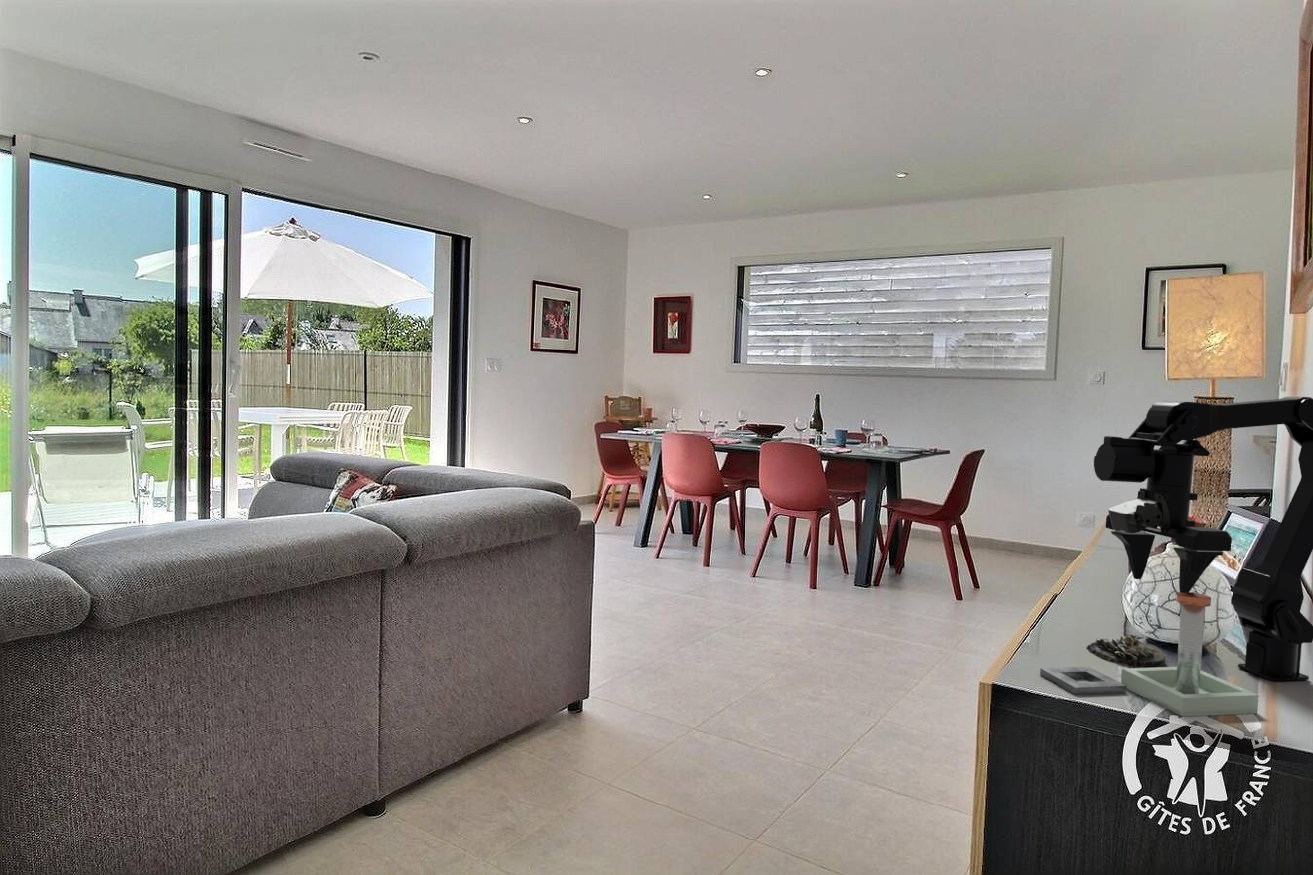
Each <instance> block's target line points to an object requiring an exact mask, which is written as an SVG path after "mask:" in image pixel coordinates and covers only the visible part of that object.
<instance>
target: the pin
mask: <svg viewBox="0 0 1313 875" xmlns="http://www.w3.org/2000/svg"><path fill="white" fill-rule="evenodd" d="M1175 598H1176V600H1175V601H1176V602H1177V603H1180V604H1181V605H1180V616H1179V628H1178V629H1179V633H1178V645H1177V646H1178V647H1177V660H1176V667H1177V672H1176V687H1175V690H1176V691H1178V692H1180V693H1182V694H1199V687H1200V673H1201V671H1202V670H1201V669H1202V660H1203V659H1202V658H1203V657H1202V656H1203V642H1204V641H1203V640H1204V630H1205V617H1206V607H1207V608H1208V607H1211V606H1212V604H1211V603H1212V597H1211V596H1208V595H1207V594H1203V593H1196V592H1191V591H1190V592H1180V591H1178V592H1177V593H1176V597H1175Z"/></svg>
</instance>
